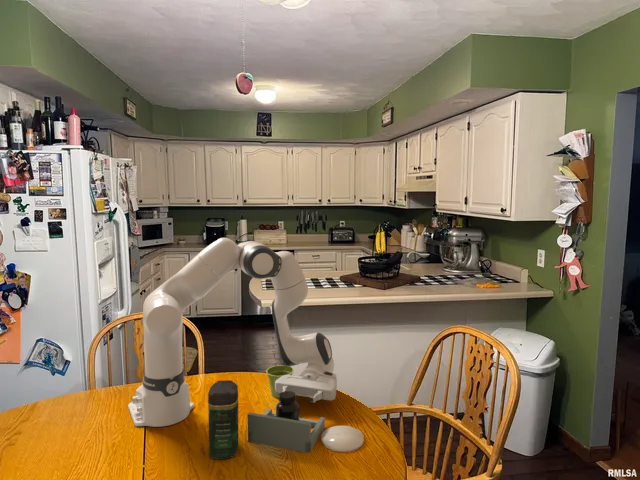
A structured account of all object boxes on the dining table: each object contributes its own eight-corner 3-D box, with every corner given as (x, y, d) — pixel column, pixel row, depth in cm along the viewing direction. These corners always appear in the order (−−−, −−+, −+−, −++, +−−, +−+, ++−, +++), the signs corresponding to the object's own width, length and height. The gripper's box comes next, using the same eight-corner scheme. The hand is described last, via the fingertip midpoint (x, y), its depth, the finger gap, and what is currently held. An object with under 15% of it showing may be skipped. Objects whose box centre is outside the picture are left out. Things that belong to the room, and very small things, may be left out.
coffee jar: (237, 459, 116) (236, 392, 114) (207, 461, 115) (205, 393, 113) (240, 439, 125) (239, 376, 124) (211, 441, 125) (210, 378, 123)
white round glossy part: (312, 439, 126) (312, 435, 126) (342, 424, 134) (342, 421, 134) (342, 457, 117) (342, 453, 117) (372, 440, 125) (372, 437, 125)
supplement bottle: (303, 430, 130) (303, 391, 129) (292, 442, 124) (292, 401, 123) (283, 425, 133) (283, 387, 132) (271, 436, 127) (271, 396, 126)
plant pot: (289, 401, 149) (289, 376, 148) (262, 399, 151) (262, 374, 150) (296, 389, 158) (296, 366, 157) (271, 387, 160) (271, 364, 159)
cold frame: (268, 417, 138) (268, 392, 137) (324, 426, 133) (324, 401, 132) (247, 441, 125) (247, 414, 124) (309, 453, 119) (309, 424, 118)
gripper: (283, 367, 152) (267, 383, 139) (340, 375, 146) (329, 392, 133) (283, 384, 153) (267, 402, 140) (340, 393, 147) (328, 412, 134)
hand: (297, 397), depth 137 cm, fingers open, 8 cm apart
